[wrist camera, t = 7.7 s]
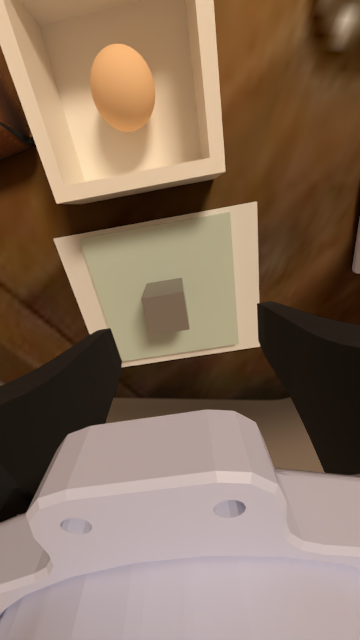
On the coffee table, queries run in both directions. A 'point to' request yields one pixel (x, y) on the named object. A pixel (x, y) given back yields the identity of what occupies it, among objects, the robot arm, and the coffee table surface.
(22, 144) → the sunglasses case
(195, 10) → the cream square tray
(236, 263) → the mat
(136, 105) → the egg
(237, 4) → the coffee table surface
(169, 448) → the robot arm
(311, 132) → the coffee table surface
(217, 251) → the lid
